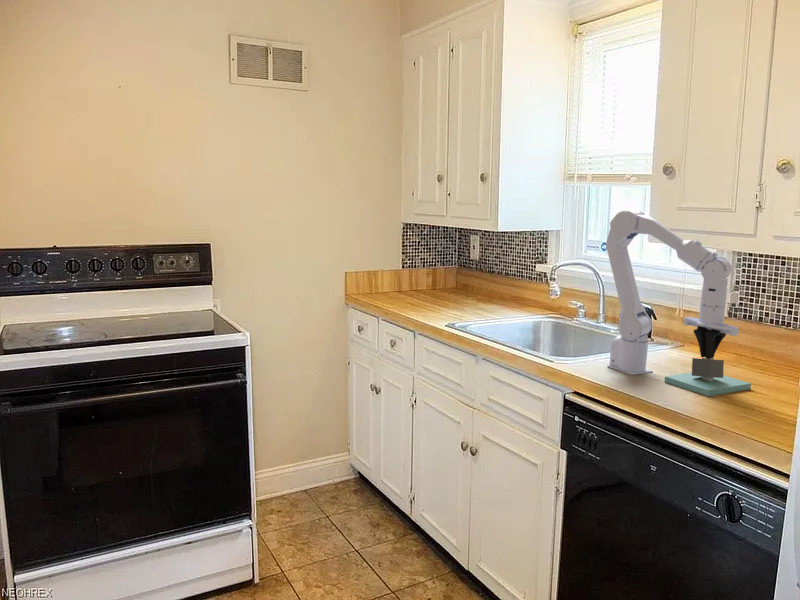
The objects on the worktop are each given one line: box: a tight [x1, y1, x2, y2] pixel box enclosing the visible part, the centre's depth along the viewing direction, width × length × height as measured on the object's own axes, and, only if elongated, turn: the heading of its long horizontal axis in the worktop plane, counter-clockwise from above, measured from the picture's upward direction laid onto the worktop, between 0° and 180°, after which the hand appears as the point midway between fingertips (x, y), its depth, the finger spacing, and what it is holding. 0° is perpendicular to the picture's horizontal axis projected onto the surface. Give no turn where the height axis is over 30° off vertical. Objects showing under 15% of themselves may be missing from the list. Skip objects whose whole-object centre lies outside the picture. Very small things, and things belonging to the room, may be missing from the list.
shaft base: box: [664, 371, 752, 397], centre depth 165 cm, size 13×16×4 cm
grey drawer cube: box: [691, 357, 725, 378], centre depth 165 cm, size 5×5×5 cm
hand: (706, 357), depth 166 cm, fingers closed
